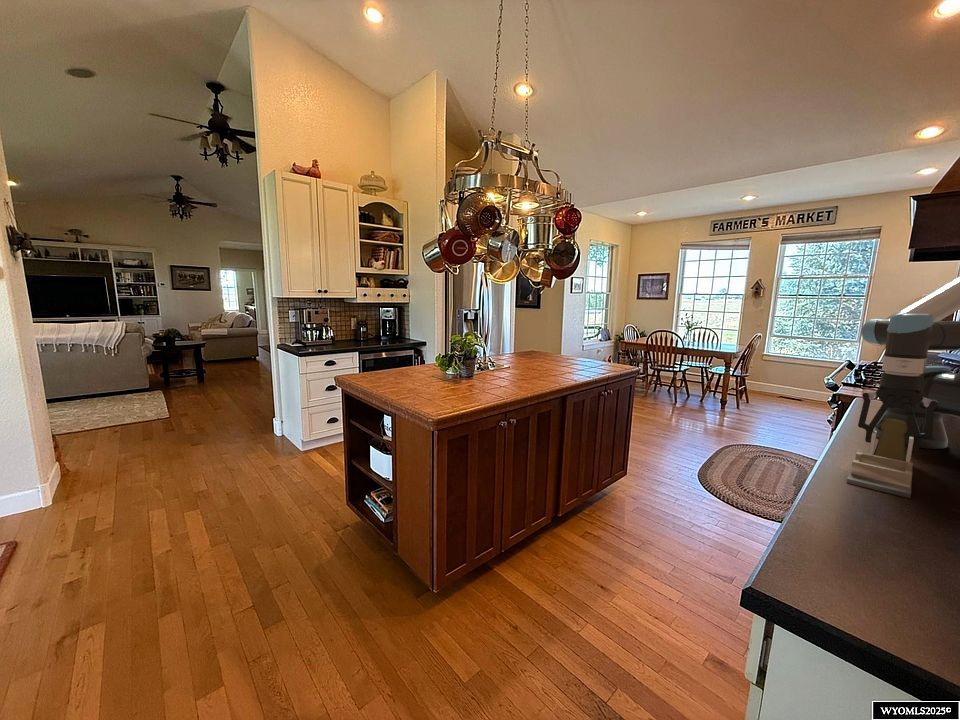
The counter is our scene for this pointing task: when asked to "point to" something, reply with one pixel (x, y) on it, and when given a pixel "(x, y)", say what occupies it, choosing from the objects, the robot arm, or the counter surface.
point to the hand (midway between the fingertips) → (889, 457)
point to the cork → (892, 439)
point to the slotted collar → (881, 474)
